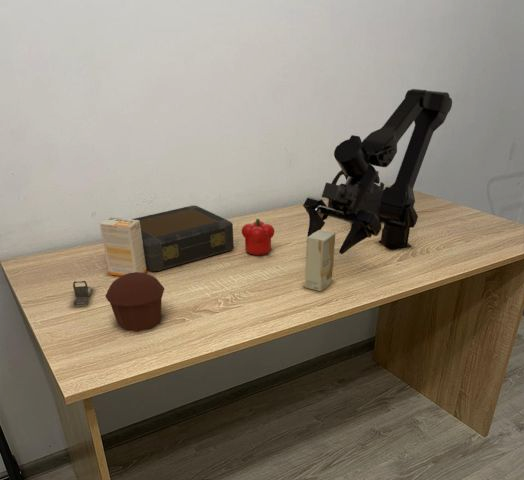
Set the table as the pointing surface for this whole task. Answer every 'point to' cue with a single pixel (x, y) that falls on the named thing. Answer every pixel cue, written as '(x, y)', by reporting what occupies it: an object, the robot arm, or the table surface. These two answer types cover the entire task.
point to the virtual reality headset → (371, 197)
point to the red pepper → (258, 237)
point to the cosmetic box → (319, 260)
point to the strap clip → (81, 294)
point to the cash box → (183, 236)
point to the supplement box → (123, 246)
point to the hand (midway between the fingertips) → (323, 247)
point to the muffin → (136, 301)
